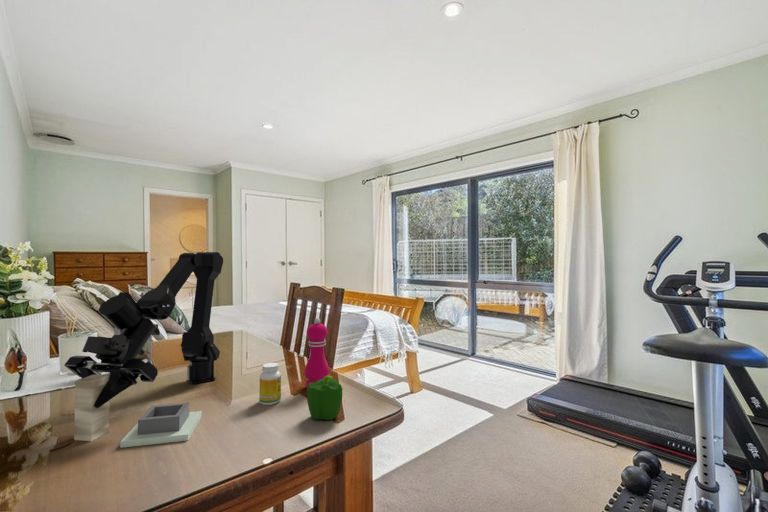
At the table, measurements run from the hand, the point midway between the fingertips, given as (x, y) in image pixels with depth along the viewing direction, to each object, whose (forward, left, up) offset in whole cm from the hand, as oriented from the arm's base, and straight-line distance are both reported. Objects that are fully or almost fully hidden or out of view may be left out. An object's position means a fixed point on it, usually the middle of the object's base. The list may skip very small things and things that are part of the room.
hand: (86, 406), depth 74 cm
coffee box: (-13, -50, -7) cm, 52 cm away
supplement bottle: (-37, +5, -7) cm, 38 cm away
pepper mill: (-52, +3, -7) cm, 53 cm away
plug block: (-1, -1, -7) cm, 7 cm away
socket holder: (-13, +6, -7) cm, 16 cm away
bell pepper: (-43, +22, -7) cm, 49 cm away
